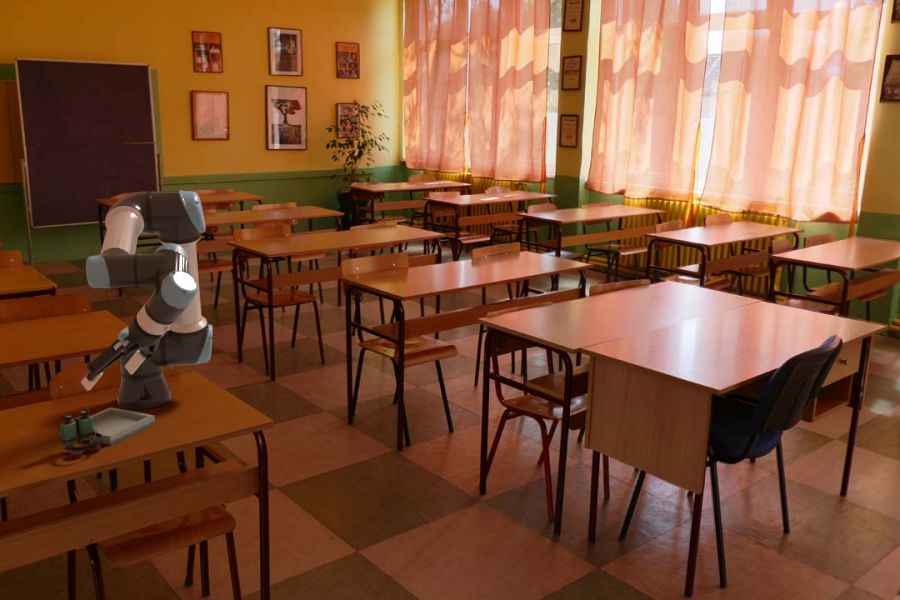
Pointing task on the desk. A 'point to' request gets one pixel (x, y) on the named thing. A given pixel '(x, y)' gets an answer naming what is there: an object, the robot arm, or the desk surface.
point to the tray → (119, 424)
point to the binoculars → (79, 434)
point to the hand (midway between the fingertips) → (107, 377)
